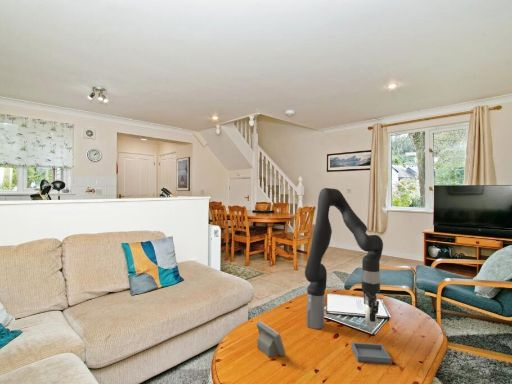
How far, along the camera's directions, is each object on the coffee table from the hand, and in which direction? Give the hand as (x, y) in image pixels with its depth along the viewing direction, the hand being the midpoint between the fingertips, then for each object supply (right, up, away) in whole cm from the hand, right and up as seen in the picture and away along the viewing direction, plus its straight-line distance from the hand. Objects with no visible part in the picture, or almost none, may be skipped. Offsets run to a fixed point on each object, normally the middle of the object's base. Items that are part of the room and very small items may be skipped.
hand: (370, 318), depth 118 cm
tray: (0, -16, 0) cm, 16 cm away
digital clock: (-44, -16, +3) cm, 47 cm away
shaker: (0, -2, 0) cm, 2 cm away
